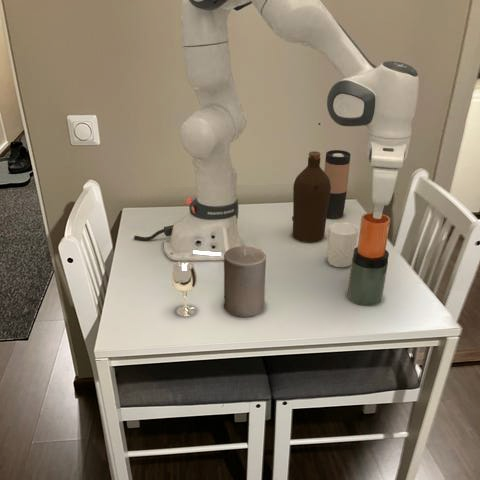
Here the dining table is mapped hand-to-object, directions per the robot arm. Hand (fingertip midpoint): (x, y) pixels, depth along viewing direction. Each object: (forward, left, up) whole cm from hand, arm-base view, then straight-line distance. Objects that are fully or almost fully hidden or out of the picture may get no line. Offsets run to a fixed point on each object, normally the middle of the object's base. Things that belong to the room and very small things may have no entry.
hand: (377, 209), depth 124 cm
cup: (0, 0, -11) cm, 11 cm away
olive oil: (-2, +37, -23) cm, 43 cm away
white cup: (+1, +19, -23) cm, 30 cm away
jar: (0, 0, -23) cm, 23 cm away
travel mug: (+11, +51, -23) cm, 57 cm away
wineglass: (-44, +3, -23) cm, 50 cm away
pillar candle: (-30, +2, -23) cm, 38 cm away
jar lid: (0, 0, -11) cm, 11 cm away
